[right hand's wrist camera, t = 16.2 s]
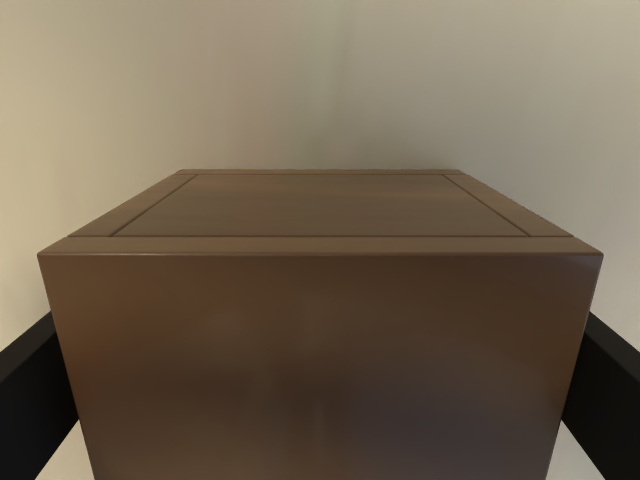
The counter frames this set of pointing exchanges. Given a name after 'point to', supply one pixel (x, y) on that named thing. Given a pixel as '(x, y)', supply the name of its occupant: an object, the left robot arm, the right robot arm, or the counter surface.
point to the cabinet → (320, 328)
